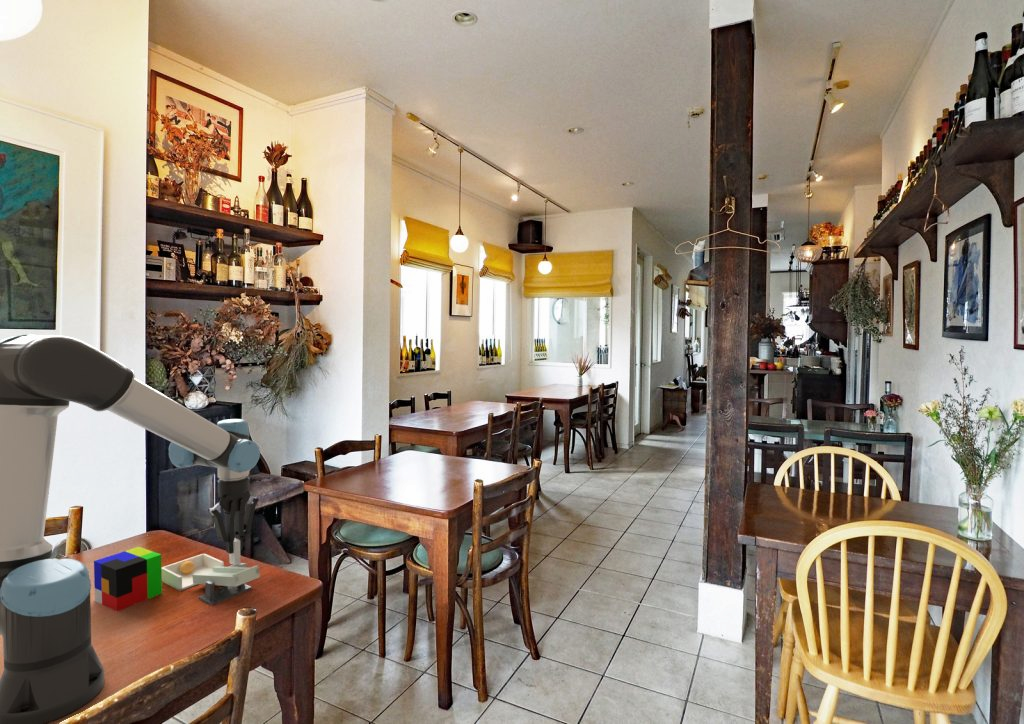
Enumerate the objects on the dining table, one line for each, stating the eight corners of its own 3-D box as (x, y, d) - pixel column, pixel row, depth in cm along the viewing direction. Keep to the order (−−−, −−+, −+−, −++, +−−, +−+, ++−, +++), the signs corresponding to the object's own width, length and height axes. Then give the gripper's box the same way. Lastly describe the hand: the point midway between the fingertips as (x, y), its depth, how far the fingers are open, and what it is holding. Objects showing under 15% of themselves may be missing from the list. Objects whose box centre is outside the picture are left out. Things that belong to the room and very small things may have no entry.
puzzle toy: (94, 601, 128) (93, 561, 128) (139, 584, 137) (138, 546, 137) (116, 611, 124) (115, 569, 123) (162, 593, 132) (161, 554, 132)
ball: (177, 572, 142) (183, 577, 140) (178, 561, 142) (184, 566, 140) (190, 568, 145) (196, 573, 143) (190, 557, 144) (197, 562, 143)
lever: (282, 568, 134) (280, 557, 135) (235, 586, 124) (234, 574, 125) (238, 566, 145) (237, 556, 145) (193, 583, 135) (191, 572, 135)
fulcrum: (251, 589, 135) (251, 571, 135) (211, 605, 127) (211, 587, 126) (238, 583, 138) (238, 566, 138) (198, 598, 130) (198, 580, 130)
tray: (179, 591, 134) (179, 577, 133) (160, 580, 139) (160, 567, 139) (223, 574, 143) (223, 561, 143) (204, 565, 148) (204, 553, 148)
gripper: (216, 485, 134) (218, 576, 135) (264, 474, 145) (265, 558, 146) (201, 480, 138) (202, 568, 139) (248, 469, 149) (249, 551, 150)
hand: (234, 563), depth 143 cm, fingers closed
